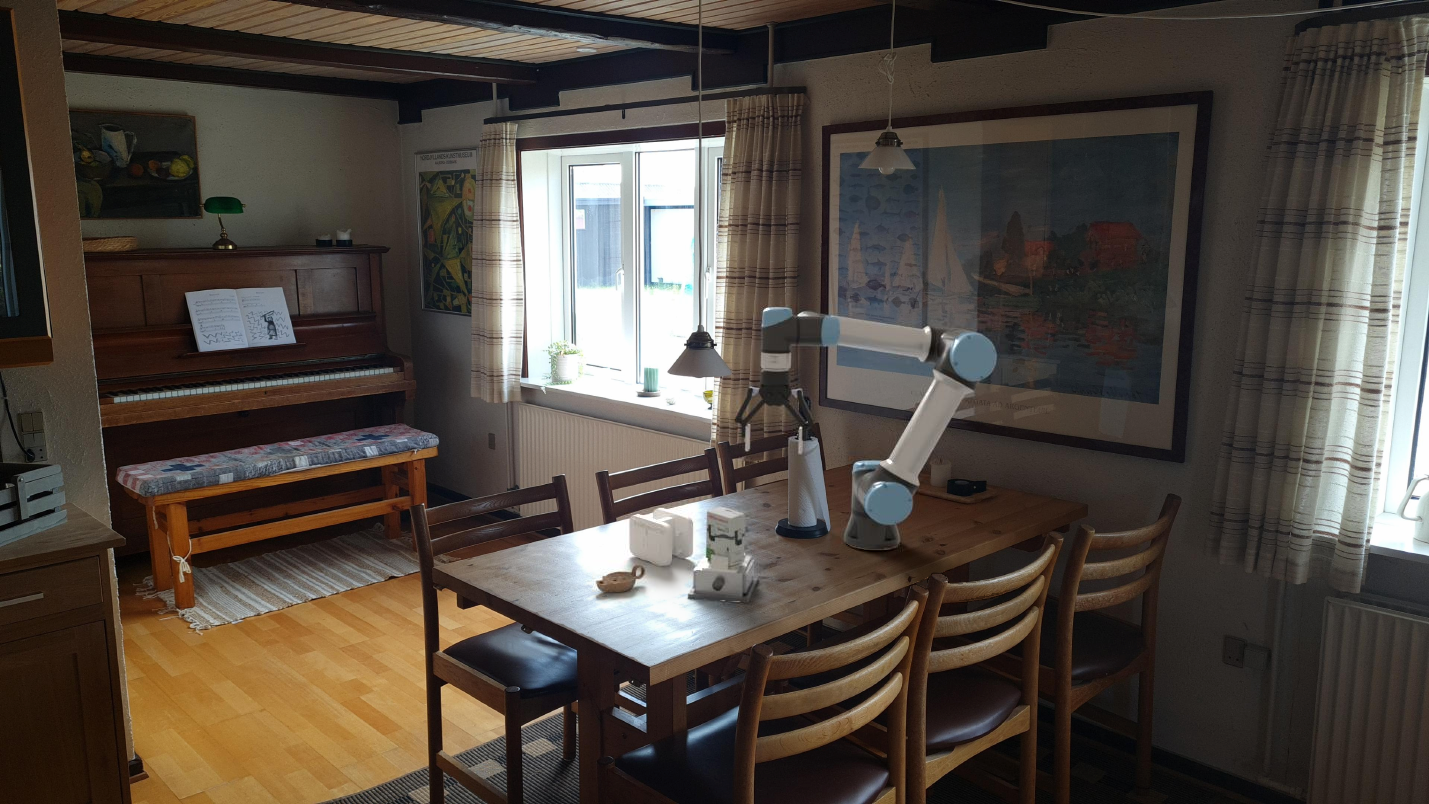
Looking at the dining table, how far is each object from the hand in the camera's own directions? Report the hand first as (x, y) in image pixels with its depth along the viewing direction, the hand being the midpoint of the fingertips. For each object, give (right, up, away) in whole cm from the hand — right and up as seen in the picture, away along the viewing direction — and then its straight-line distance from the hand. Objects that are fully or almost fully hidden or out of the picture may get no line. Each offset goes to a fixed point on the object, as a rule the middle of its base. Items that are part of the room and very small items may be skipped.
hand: (773, 451), depth 251 cm
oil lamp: (-37, -32, -17) cm, 52 cm away
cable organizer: (-29, -28, +4) cm, 41 cm away
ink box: (-13, -25, -18) cm, 33 cm away
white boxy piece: (-13, -32, -17) cm, 38 cm away
